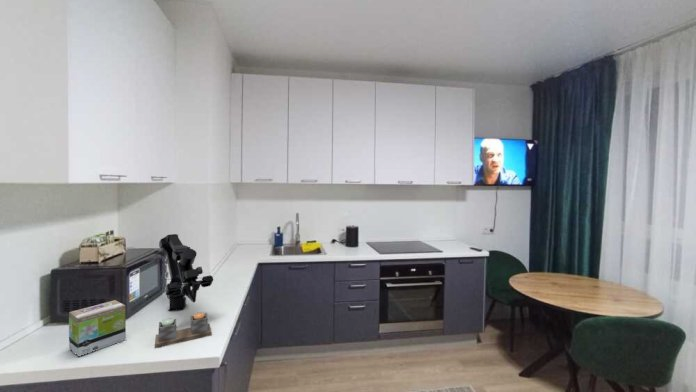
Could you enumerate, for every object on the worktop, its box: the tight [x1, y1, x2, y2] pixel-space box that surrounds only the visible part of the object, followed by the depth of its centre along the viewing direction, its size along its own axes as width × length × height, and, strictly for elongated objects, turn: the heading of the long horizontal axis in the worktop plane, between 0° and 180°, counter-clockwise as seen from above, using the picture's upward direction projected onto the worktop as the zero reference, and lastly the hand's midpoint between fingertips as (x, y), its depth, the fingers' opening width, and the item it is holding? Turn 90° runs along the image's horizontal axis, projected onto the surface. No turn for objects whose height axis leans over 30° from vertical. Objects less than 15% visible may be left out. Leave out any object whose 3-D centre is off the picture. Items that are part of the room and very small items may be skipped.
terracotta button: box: [193, 311, 206, 320], centre depth 126 cm, size 4×4×2 cm
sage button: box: [160, 317, 175, 327], centre depth 120 cm, size 4×4×2 cm
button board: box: [154, 312, 213, 349], centre depth 123 cm, size 20×8×7 cm, turn 121°
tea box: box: [68, 299, 127, 357], centre depth 117 cm, size 15×10×15 cm
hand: (194, 301), depth 130 cm, fingers closed
